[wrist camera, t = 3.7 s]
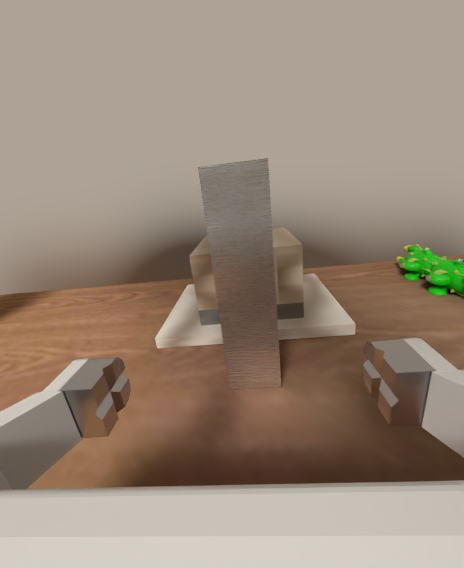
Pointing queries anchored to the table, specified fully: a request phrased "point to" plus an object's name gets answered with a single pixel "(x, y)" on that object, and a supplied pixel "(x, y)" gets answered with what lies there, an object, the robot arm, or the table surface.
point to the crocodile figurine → (434, 270)
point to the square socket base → (289, 297)
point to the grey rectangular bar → (243, 269)
